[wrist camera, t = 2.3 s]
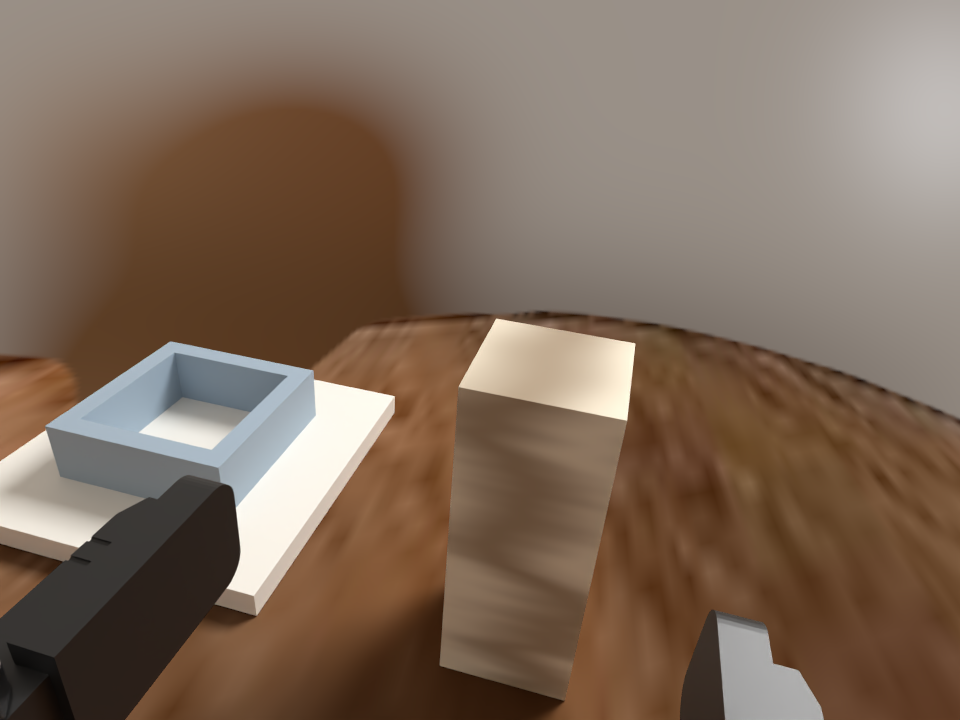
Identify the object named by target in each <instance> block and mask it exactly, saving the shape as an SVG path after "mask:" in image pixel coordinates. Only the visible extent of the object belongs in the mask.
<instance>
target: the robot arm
mask: <svg viewBox="0 0 960 720" xmlns="http://www.w3.org/2000/svg"><path fill="white" fill-rule="evenodd" d="M240 553H241V549H240V539H239V530H238V522H237V513H236V504H235V496H234V491H233V489H232V487H231V486H230V485H227V484H223V483H219V482H215V481H211V480H207V479H203V478H200V477H196V476H192V475H186V476H183V477H181V478H180V479H179V480H177V481H176V482H175V483H174V484H173V485H172V486H171V487H170V488H169V489H168V490H167V491H166V492H165V493H163V494H162V495H161V496H160V497H159V498H158V499H155V498H151V497H148V498H146V499H144V500H142V501H140V502H138V503H136V504H135V505H133V506H131V507H129V508H127V509H125V510H123V511H121V512H119V513H117V514H116V515H115V516H114V517H113V518H111V519H110V520H109V521H108V522H107V523H106V524H105V525H104V526H103V527H101V528H100V529H99V530H98V531H97V532H96V533H95V534H94V535H93V536H92V538H91V540H90V541H86V542H85V543H84V544H83V545H81V546H80V547H79V548H78V549H77V550H76V551H75V552H74V553H73V554H71V557H70V559H69V560H68V561H67V560H65V561H64V562H63V563H61V564H60V565H59V566H58V567H57V568H56V569H55V570H54V571H53V572H51V573H50V574H49V575H48V576H47V577H46V578H45V579H44V580H43V581H41V582H40V583H39V584H38V585H37V586H36V587H35V588H34V589H33V590H31V591H30V592H29V593H28V594H27V595H26V596H25V597H24V598H23V599H21V600H20V601H19V602H18V603H17V604H16V605H15V606H14V607H13V608H11V609H10V610H9V611H8V612H7V613H6V614H5V615H4V616H3V617H1V618H0V720H125V719H126V718H127V716H128V715H129V714H130V713H131V711H132V710H133V709H134V707H135V706H136V705H137V704H138V702H139V701H140V700H141V698H142V697H143V696H144V694H145V693H146V692H147V691H148V689H149V688H150V687H151V685H152V684H153V683H154V682H155V680H156V679H157V678H158V676H159V675H160V674H161V673H162V671H163V670H164V669H165V667H166V666H167V665H168V663H169V662H170V661H171V660H172V658H173V657H174V656H175V654H176V653H177V652H178V651H179V649H180V648H181V647H182V645H183V644H184V643H185V641H186V640H187V639H188V638H189V636H190V635H191V634H192V632H193V631H194V630H195V629H196V627H197V626H198V625H199V623H200V622H201V621H202V619H203V618H204V617H205V616H206V614H207V613H208V612H209V610H210V609H211V608H212V607H213V605H214V604H215V603H216V601H217V600H218V599H219V598H220V596H221V595H222V594H223V592H224V591H225V590H226V588H227V587H228V586H229V584H230V583H231V581H232V579H233V577H234V575H235V573H236V570H237V567H238V564H239V560H240ZM680 720H824V719H823V714H822V710H821V707H820V705H819V703H818V702H817V700H816V698H815V697H814V695H813V694H812V692H811V690H810V689H809V687H808V685H807V684H806V682H805V680H804V679H803V677H802V676H801V674H800V672H799V671H798V670H795V669H791V668H787V667H784V666H780V665H776V664H773V661H772V655H771V649H770V643H769V636H768V631H767V628H766V626H765V624H764V623H763V622H759V621H755V620H751V619H747V618H743V617H739V616H735V615H731V614H727V613H723V612H719V611H715V610H711V611H710V612H709V614H708V616H707V619H706V621H705V624H704V627H703V629H702V632H701V635H700V637H699V640H698V643H697V645H696V648H695V651H694V653H693V656H692V659H691V662H690V664H689V667H688V670H687V672H686V676H685V680H684V684H683V690H682V697H681V707H680Z"/></svg>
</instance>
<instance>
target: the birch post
mask: <svg viewBox="0 0 960 720" xmlns="http://www.w3.org/2000/svg"><path fill="white" fill-rule="evenodd" d="M634 351H635V343H629V342H624V341H618V340H613V339H607V338H601V337H596V336H590V335H585V334H579V333H573V332H568V331H562V330H556V329H551V328H545V327H540V326H534V325H528V324H523V323H517V322H512V321H506V320H500V319H496V321H495V322H494V324H493V326H492V328H491V330H490V331H489V333H488V335H487V337H486V339H485V340H484V342H483V344H482V346H481V348H480V349H479V351H478V353H477V355H476V357H475V358H474V360H473V362H472V364H471V366H470V367H469V369H468V371H467V373H466V375H465V376H464V378H463V380H462V382H461V384H460V385H459V388H458V403H457V418H456V432H455V447H454V461H453V476H452V491H451V505H450V520H449V535H448V549H447V564H446V579H445V593H444V608H443V622H442V637H441V652H440V666H442V667H446V668H449V669H453V670H456V671H460V672H463V673H467V674H471V675H474V676H478V677H481V678H485V679H488V680H492V681H496V682H499V683H503V684H506V685H510V686H513V687H517V688H520V689H524V690H528V691H531V692H535V693H538V694H542V695H545V696H549V697H552V698H556V699H560V700H563V701H565V697H566V692H567V688H568V683H569V679H570V674H571V670H572V666H573V661H574V657H575V652H576V648H577V643H578V639H579V634H580V630H581V625H582V621H583V616H584V612H585V607H586V603H587V598H588V594H589V589H590V585H591V580H592V576H593V571H594V567H595V562H596V558H597V553H598V549H599V544H600V540H601V535H602V531H603V526H604V522H605V517H606V513H607V508H608V504H609V499H610V495H611V490H612V486H613V481H614V477H615V472H616V468H617V463H618V459H619V454H620V450H621V445H622V441H623V436H624V432H625V427H626V423H627V416H628V407H629V397H630V388H631V379H632V369H633V360H634Z"/></svg>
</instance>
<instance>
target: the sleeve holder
mask: <svg viewBox="0 0 960 720" xmlns="http://www.w3.org/2000/svg"><path fill="white" fill-rule="evenodd" d="M394 408H395V396H390V395H385V394H381V393H376V392H371V391H366V390H361V389H356V388H352V387H347V386H342V385H337V384H332V383H327V382H323V381H318V380H314V373H313V370H308V369H302V368H298V367H293V366H288V365H282V364H278V363H273V362H268V361H264V360H259V359H254V358H249V357H244V356H239V355H234V354H229V353H224V352H219V351H214V350H209V349H205V348H200V347H195V346H189V345H185V344H180V343H175V342H169V343H168V344H166V345H165V346H163V347H162V348H160V349H159V350H157V351H156V352H154V353H153V354H151V355H150V356H148V357H147V358H145V359H144V360H142V361H141V362H139V363H138V364H136V365H135V366H134V367H132V368H131V369H129V370H128V371H126V372H125V373H123V374H122V375H120V376H119V377H117V378H116V379H114V380H113V381H112V382H110V383H108V384H107V385H105V386H104V387H102V388H101V389H99V390H98V391H97V392H95V393H93V394H92V395H91V396H89V397H88V398H86V399H85V400H83V401H82V402H80V403H79V404H77V405H76V406H74V407H73V408H71V409H70V410H68V411H67V412H65V413H64V414H62V415H61V416H59V417H58V418H56V419H55V420H53V421H52V422H50V423H49V424H48V425H46V426H45V428H46V431H44V432H43V433H41V434H40V435H38V436H37V437H35V438H34V439H32V440H31V441H29V442H28V443H27V444H25V445H24V446H22V447H21V448H19V449H18V450H16V451H15V452H13V453H12V454H10V455H9V456H7V457H6V458H5V459H3V460H2V461H0V544H3V545H7V546H10V547H14V548H17V549H21V550H24V551H28V552H31V553H35V554H38V555H42V556H46V557H49V558H53V559H56V560H60V561H63V562H64V561H65V560H67V561H68V560H69V559H70V557H71V554H73V553H74V552H75V551H76V550H77V549H78V548H79V547H80V546H81V545H83V544H84V543H85V542H86V541H90V540H91V538H92V536H93V535H94V534H95V533H96V532H97V531H98V530H99V529H100V528H101V527H103V526H104V525H105V524H106V523H107V522H108V521H109V520H110V519H111V518H113V517H114V516H115V515H116V514H117V513H119V512H121V511H123V510H125V509H127V508H129V507H131V506H133V505H135V504H136V503H138V502H140V501H142V500H144V499H146V498H148V497H151V498H155V499H158V498H159V497H160V496H161V495H162V494H163V493H165V492H166V491H167V490H168V489H169V488H170V487H171V486H172V485H173V484H174V483H175V482H176V481H177V480H179V479H180V478H181V477H183V476H186V475H192V476H196V477H200V478H203V479H207V480H211V481H215V482H219V483H223V484H227V485H230V486H231V487H232V489H233V491H234V496H235V504H236V513H237V522H238V530H239V539H240V549H241V553H240V560H239V564H238V567H237V570H236V573H235V575H234V577H233V579H232V581H231V583H230V584H229V586H228V587H227V588H226V590H225V591H224V592H223V594H222V595H221V596H220V598H219V599H218V600H217V601H216V603H215V604H216V605H219V606H223V607H227V608H230V609H234V610H237V611H241V612H244V613H248V614H251V615H255V616H257V615H258V613H259V612H260V610H261V609H262V607H263V606H264V604H265V603H266V601H267V600H268V598H269V597H270V596H271V594H272V593H273V591H274V590H275V588H276V587H277V585H278V584H279V582H280V581H281V579H282V578H283V576H284V575H285V573H286V572H287V570H288V569H289V567H290V566H291V565H292V563H293V562H294V560H295V559H296V557H297V556H298V554H299V553H300V551H301V550H302V548H303V547H304V545H305V544H306V542H307V541H308V539H309V538H310V537H311V535H312V534H313V532H314V531H315V529H316V528H317V526H318V525H319V523H320V522H321V520H322V519H323V517H324V516H325V514H326V513H327V511H328V510H329V508H330V507H331V506H332V504H333V503H334V501H335V500H336V498H337V497H338V495H339V494H340V492H341V491H342V489H343V488H344V486H345V485H346V483H347V482H348V480H349V479H350V477H351V476H352V475H353V473H354V472H355V470H356V469H357V467H358V466H359V464H360V463H361V461H362V460H363V458H364V457H365V455H366V454H367V452H368V451H369V449H370V448H371V446H372V445H373V444H374V442H375V441H376V439H377V438H378V436H379V435H380V433H381V432H382V430H383V429H384V427H385V426H386V424H387V423H388V421H389V420H390V418H391V417H392V415H393V414H394Z"/></svg>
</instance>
